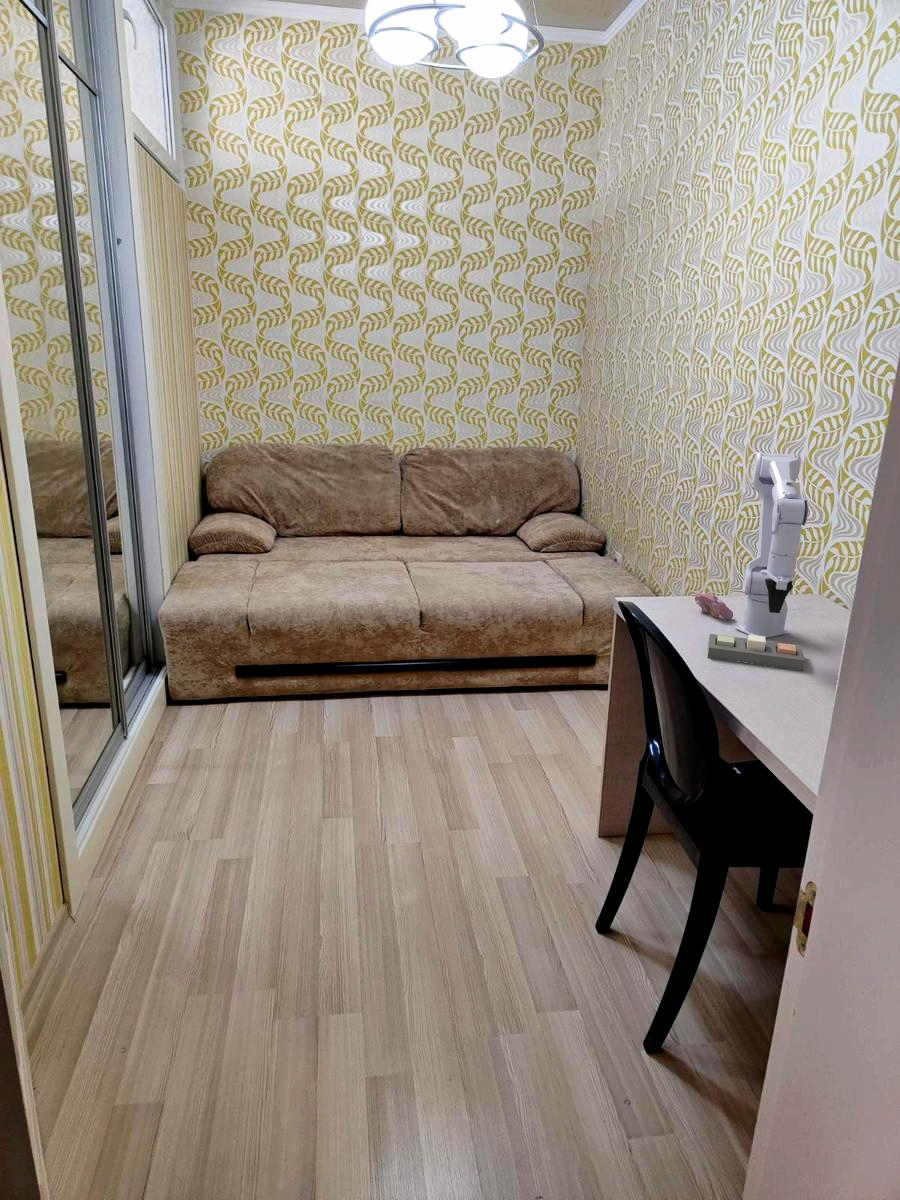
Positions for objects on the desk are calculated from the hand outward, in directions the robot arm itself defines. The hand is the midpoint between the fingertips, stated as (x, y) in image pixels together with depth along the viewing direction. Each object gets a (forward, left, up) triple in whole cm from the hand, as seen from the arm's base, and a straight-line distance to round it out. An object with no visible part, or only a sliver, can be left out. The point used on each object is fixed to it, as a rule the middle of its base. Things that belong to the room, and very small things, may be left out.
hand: (774, 612), depth 178 cm
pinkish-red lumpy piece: (-8, -26, -11) cm, 29 cm away
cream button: (+4, 0, -9) cm, 10 cm away
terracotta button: (-1, +4, -10) cm, 11 cm away
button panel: (+4, 0, -10) cm, 11 cm away
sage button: (+8, -5, -10) cm, 14 cm away
